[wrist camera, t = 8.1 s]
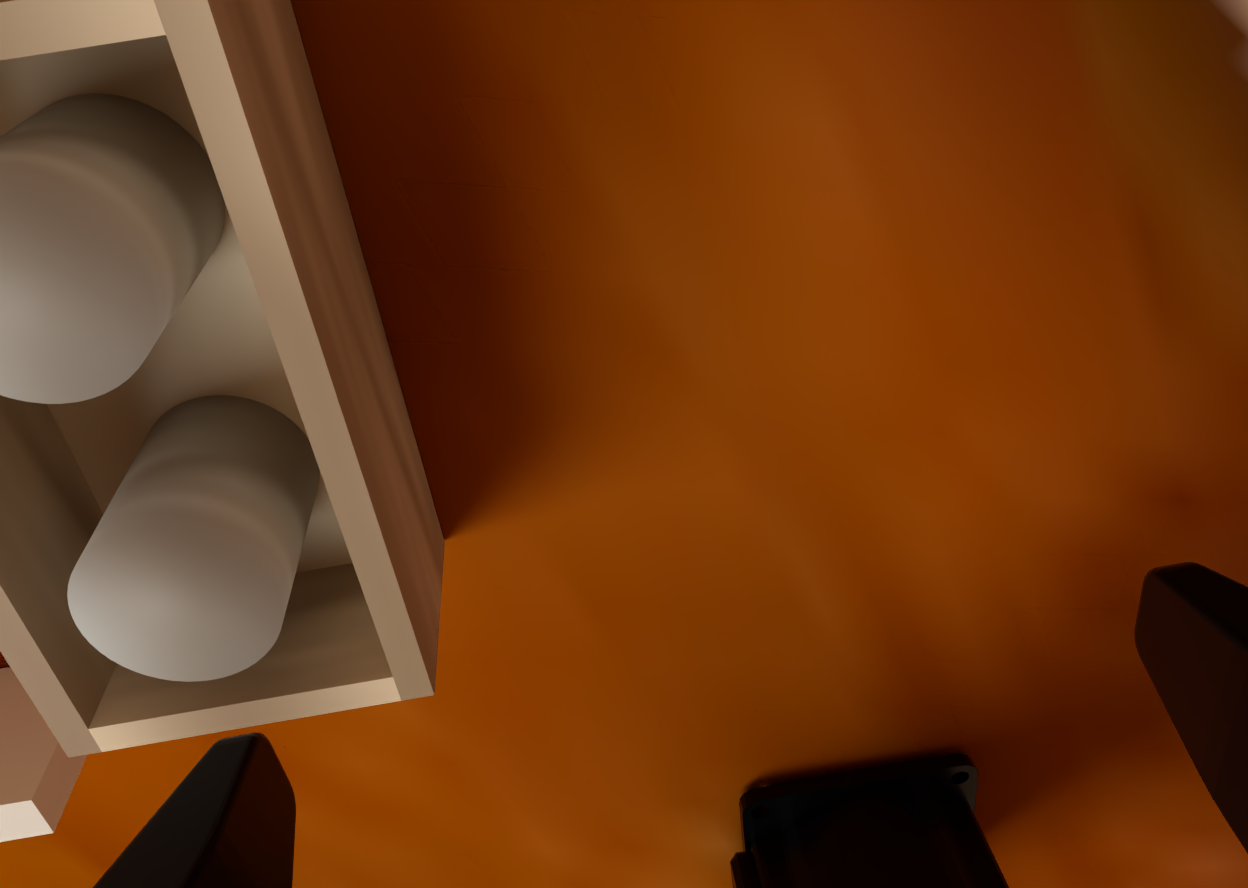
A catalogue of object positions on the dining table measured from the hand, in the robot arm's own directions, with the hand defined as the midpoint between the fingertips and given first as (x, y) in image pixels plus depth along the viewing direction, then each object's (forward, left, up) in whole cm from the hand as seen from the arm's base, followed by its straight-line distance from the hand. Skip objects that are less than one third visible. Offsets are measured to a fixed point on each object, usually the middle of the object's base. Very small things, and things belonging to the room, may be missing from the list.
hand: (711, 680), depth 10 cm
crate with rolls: (+8, 0, -11) cm, 13 cm away
